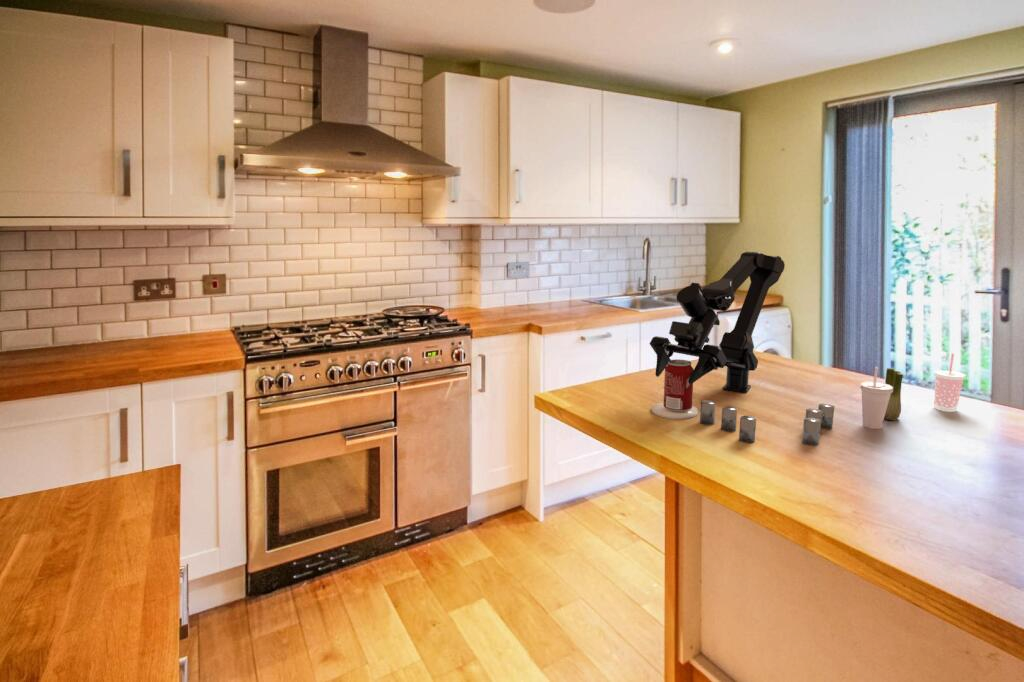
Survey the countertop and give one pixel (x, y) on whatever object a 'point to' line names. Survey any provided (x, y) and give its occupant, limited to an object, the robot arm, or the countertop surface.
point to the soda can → (678, 386)
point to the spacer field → (748, 423)
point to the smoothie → (874, 402)
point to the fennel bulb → (893, 394)
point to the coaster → (663, 412)
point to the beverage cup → (948, 389)
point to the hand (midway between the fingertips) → (672, 379)
